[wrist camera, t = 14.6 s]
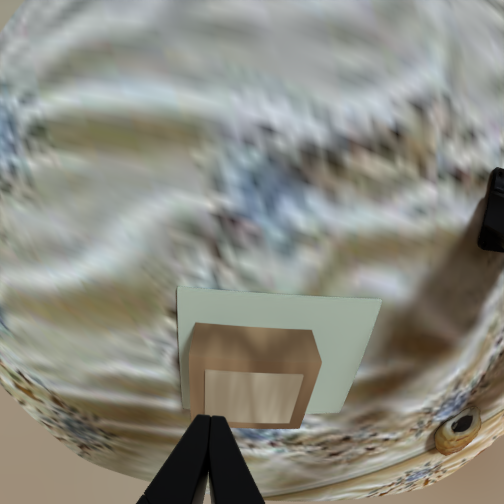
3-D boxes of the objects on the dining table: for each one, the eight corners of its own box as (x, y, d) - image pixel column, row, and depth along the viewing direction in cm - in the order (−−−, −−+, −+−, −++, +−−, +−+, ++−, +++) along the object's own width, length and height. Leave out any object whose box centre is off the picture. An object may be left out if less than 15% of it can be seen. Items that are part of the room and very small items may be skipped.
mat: (379, 298, 21) (382, 301, 21) (338, 409, 25) (339, 412, 25) (178, 286, 20) (177, 289, 20) (183, 405, 24) (182, 408, 24)
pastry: (467, 432, 31) (477, 450, 28) (429, 453, 32) (437, 472, 29) (477, 399, 28) (490, 419, 24) (433, 424, 29) (444, 446, 25)
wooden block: (322, 364, 18) (188, 357, 17) (299, 430, 20) (190, 426, 20) (311, 329, 21) (195, 322, 21) (293, 396, 24) (195, 391, 23)
